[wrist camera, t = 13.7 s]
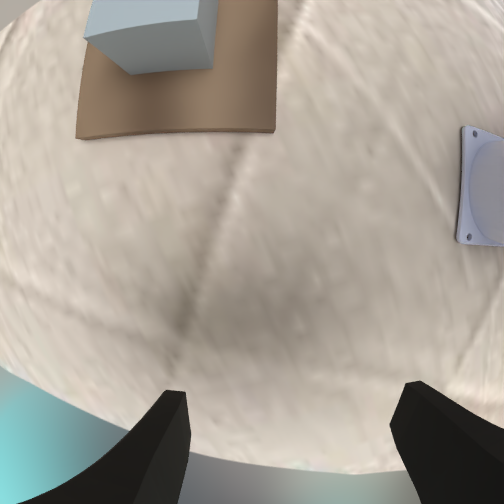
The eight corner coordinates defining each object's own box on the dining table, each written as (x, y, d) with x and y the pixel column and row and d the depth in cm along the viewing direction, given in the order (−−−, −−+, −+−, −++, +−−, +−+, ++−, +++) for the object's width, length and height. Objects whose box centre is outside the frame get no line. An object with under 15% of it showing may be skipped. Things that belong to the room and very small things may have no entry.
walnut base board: (275, -22, 13) (277, -33, 11) (273, 133, 15) (275, 129, 14) (109, -8, 12) (102, -16, 11) (85, 140, 15) (75, 138, 14)
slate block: (218, 2, 12) (208, -57, 7) (212, 68, 13) (196, 19, 8) (140, 10, 12) (106, -39, 7) (130, 75, 13) (83, 38, 8)
